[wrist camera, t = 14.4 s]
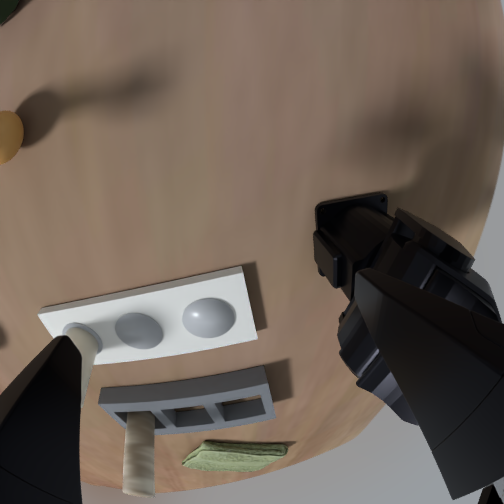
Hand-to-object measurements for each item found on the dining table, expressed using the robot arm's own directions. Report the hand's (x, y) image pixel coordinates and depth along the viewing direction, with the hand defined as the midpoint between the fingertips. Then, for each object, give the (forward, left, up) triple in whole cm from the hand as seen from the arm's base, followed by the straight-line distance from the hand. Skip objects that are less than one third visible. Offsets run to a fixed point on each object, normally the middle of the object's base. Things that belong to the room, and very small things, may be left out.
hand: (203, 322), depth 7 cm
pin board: (+9, +24, -13) cm, 29 cm away
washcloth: (+8, +48, -14) cm, 50 cm away
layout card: (+9, +10, -13) cm, 19 cm away
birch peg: (+15, +24, -13) cm, 32 cm away
